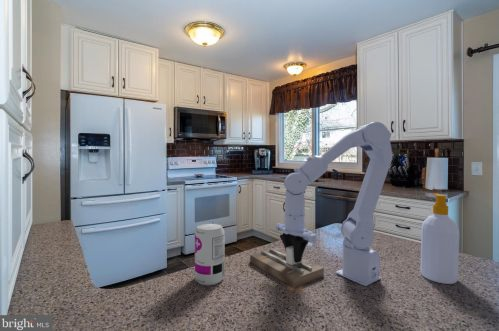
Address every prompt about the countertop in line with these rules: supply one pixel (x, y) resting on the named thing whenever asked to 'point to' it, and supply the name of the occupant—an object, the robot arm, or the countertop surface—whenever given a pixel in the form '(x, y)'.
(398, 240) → the countertop surface
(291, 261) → the block
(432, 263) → the soap bottle
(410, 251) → the countertop surface
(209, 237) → the supplement can
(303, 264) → the tan slider track board
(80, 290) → the countertop surface
